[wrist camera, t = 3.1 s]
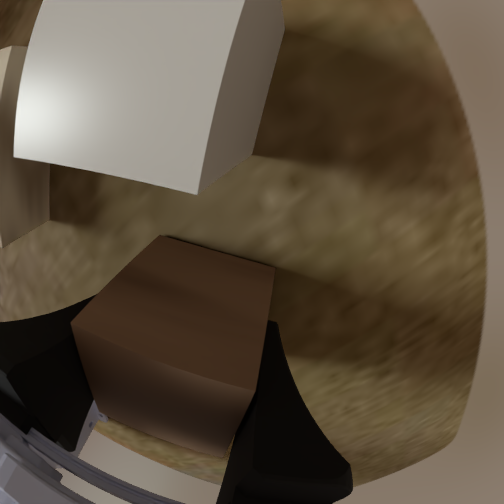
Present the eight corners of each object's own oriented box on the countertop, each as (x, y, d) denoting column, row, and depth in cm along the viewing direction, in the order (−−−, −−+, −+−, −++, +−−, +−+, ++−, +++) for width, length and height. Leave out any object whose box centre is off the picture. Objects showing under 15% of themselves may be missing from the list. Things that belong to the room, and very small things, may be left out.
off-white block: (252, 154, 10) (196, 194, 4) (132, 131, 10) (13, 157, 4) (285, 29, 7) (269, -66, 2) (158, 19, 8) (57, -31, 2)
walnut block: (247, 351, 14) (222, 458, 8) (154, 321, 14) (99, 412, 8) (275, 267, 11) (255, 391, 6) (159, 234, 11) (70, 322, 6)
